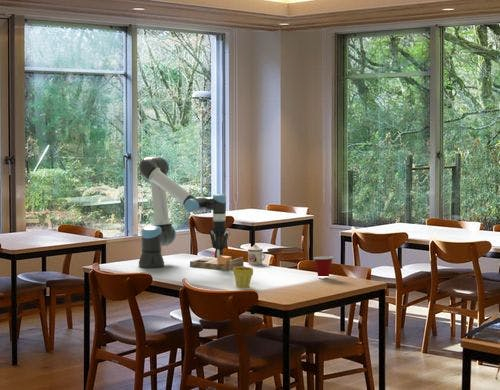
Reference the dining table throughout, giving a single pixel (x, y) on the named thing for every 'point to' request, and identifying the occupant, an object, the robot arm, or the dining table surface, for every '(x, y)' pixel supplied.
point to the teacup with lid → (255, 255)
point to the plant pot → (243, 276)
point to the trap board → (216, 263)
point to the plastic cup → (323, 265)
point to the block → (224, 260)
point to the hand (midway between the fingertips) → (219, 260)
